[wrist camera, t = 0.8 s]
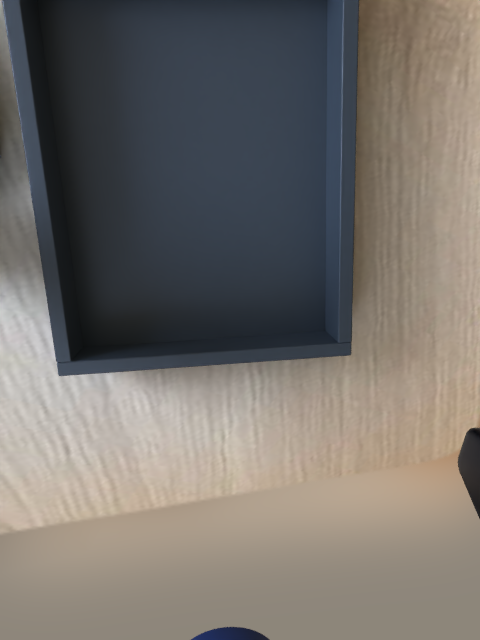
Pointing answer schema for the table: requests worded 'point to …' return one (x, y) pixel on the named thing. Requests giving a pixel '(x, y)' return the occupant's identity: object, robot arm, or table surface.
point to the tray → (190, 176)
